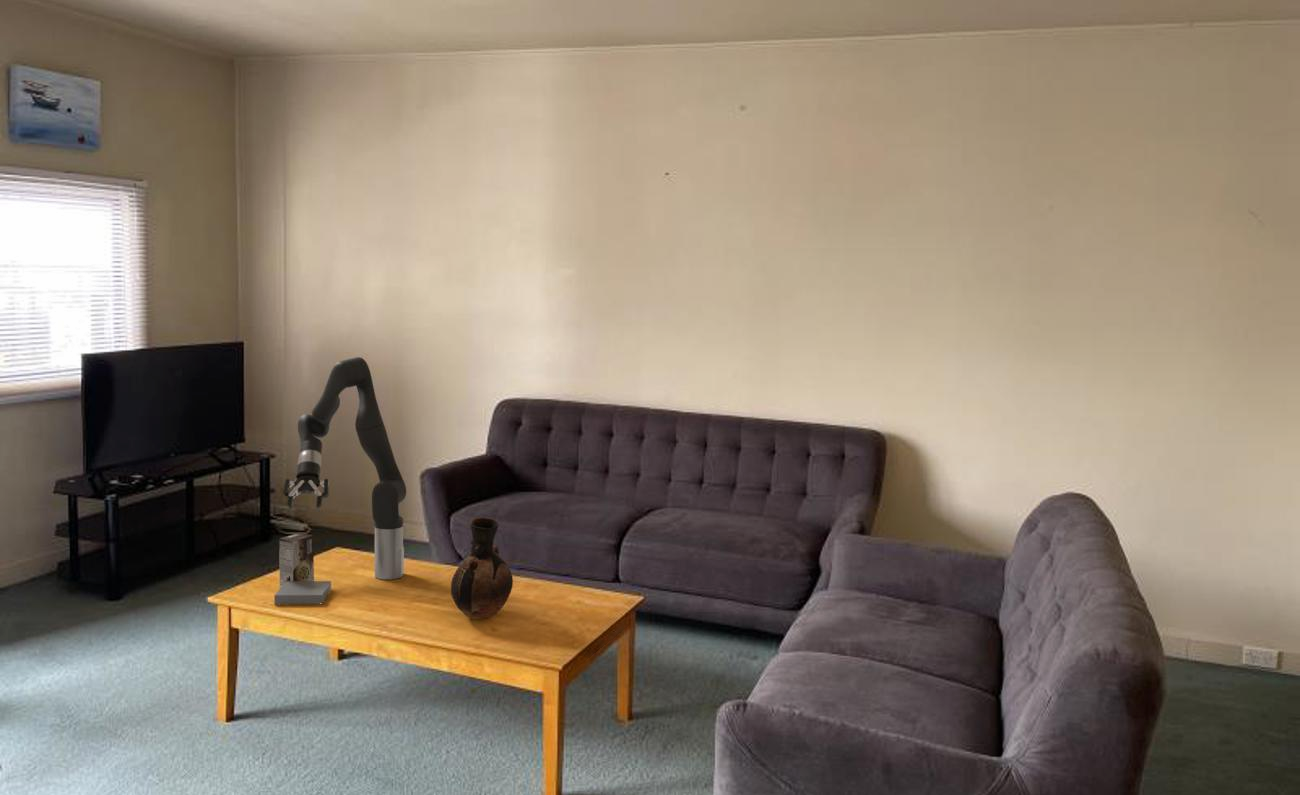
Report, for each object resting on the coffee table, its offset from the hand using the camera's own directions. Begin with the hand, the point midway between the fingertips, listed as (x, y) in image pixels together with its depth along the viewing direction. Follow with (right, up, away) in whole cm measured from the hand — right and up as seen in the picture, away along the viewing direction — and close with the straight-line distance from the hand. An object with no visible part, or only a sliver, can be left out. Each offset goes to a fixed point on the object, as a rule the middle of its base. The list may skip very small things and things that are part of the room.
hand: (304, 507), depth 322 cm
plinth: (+6, -26, -19) cm, 32 cm away
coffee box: (0, -25, -6) cm, 25 cm away
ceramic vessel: (+64, -29, -30) cm, 77 cm away
